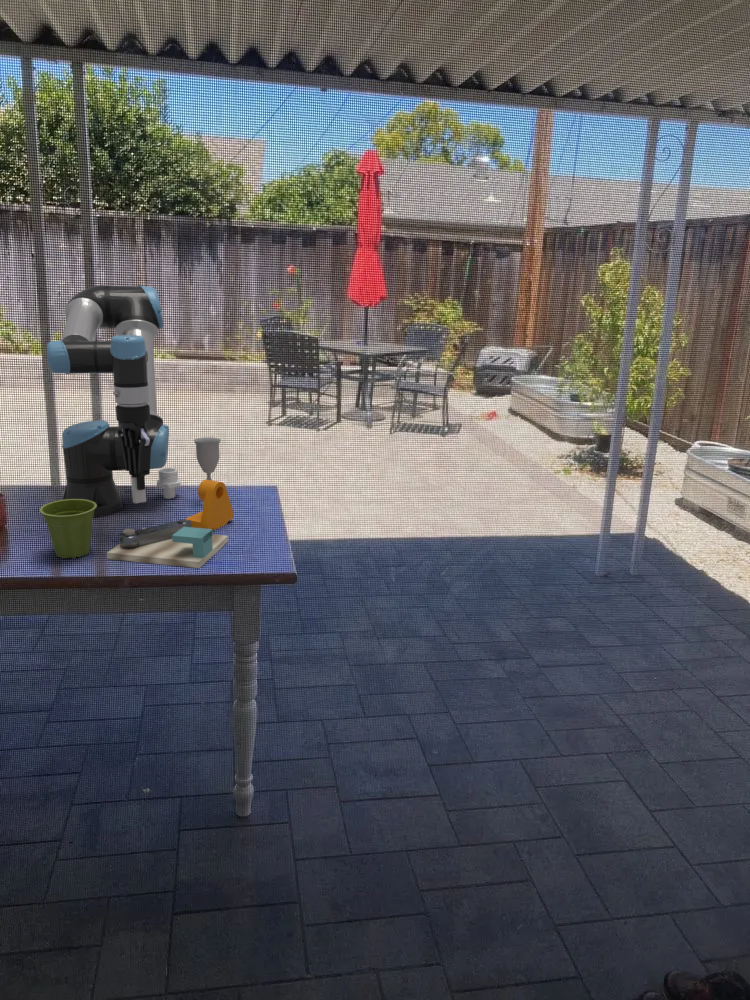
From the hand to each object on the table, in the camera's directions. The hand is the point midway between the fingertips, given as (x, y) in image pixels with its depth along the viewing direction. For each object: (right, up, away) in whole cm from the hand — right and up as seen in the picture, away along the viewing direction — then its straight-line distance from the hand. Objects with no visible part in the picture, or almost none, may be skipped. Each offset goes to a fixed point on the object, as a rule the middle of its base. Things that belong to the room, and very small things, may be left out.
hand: (139, 501), depth 178 cm
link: (+5, -9, -3) cm, 11 cm away
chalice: (+10, -1, +29) cm, 31 cm away
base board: (+9, -11, -5) cm, 15 cm away
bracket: (+14, -6, +12) cm, 20 cm away
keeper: (+15, -11, -10) cm, 22 cm away
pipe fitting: (-2, +1, +33) cm, 33 cm away
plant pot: (-12, -12, -9) cm, 19 cm away
